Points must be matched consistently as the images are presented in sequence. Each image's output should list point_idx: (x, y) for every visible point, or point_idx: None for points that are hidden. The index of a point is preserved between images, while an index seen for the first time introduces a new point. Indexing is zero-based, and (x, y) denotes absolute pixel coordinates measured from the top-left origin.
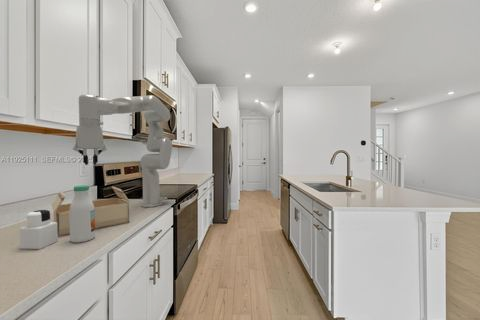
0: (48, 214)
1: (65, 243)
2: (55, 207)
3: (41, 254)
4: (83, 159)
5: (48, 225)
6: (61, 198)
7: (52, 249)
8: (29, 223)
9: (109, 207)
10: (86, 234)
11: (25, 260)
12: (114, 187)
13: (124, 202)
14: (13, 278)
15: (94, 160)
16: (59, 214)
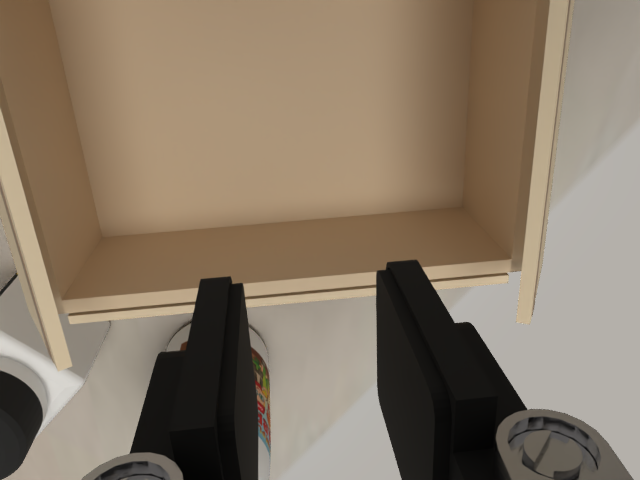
0: (27, 451)
1: (148, 369)
2: (20, 277)
3: (78, 438)
4: (149, 418)
5: (51, 420)
6: (39, 317)
7: (107, 410)
8: None
9: None
10: None
11: (37, 463)
12: (555, 47)
13: (515, 208)
14: None
15: (399, 460)
16: (73, 321)
